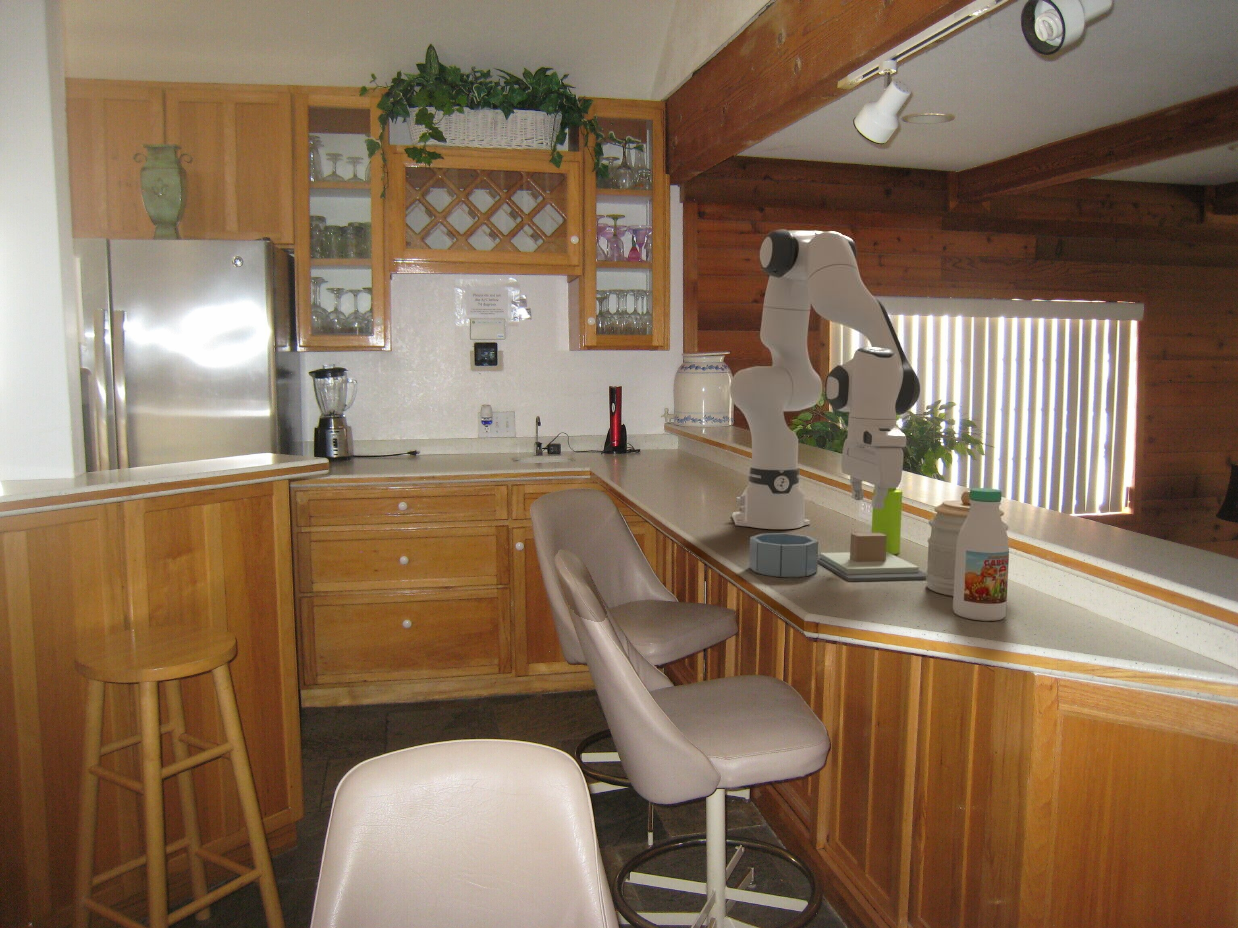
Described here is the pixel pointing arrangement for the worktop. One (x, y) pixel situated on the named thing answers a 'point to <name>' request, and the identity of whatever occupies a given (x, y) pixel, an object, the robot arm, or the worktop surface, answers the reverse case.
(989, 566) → the milk bottle
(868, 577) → the mat
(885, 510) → the soap dispenser
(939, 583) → the jar
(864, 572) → the cover
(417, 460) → the worktop surface
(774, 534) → the bowl
